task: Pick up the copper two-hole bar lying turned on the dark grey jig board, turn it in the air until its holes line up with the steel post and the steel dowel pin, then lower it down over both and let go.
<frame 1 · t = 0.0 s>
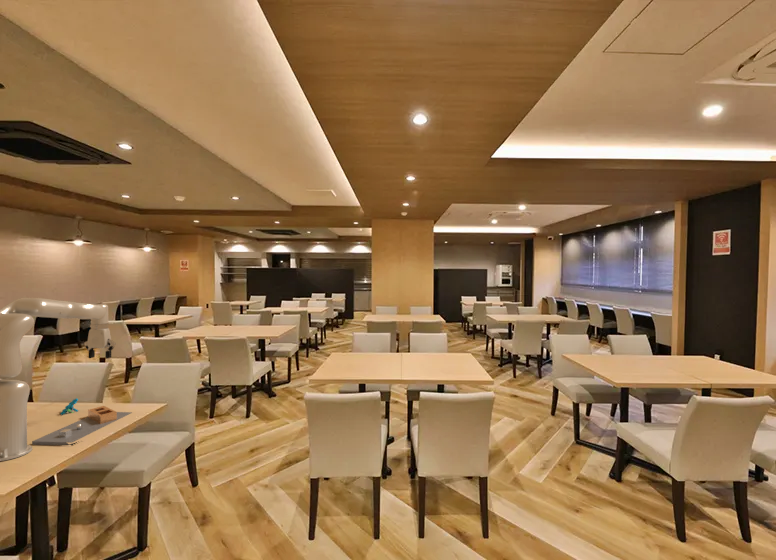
hand: (100, 357, 200), 31 cm above the table, tool pointing down, fingers open, 9 cm apart
jig board: (87, 428, 182), on the table
blue branched piece: (69, 414, 202), on the table
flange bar: (102, 418, 191), point 1 cm above the table, touching jig board
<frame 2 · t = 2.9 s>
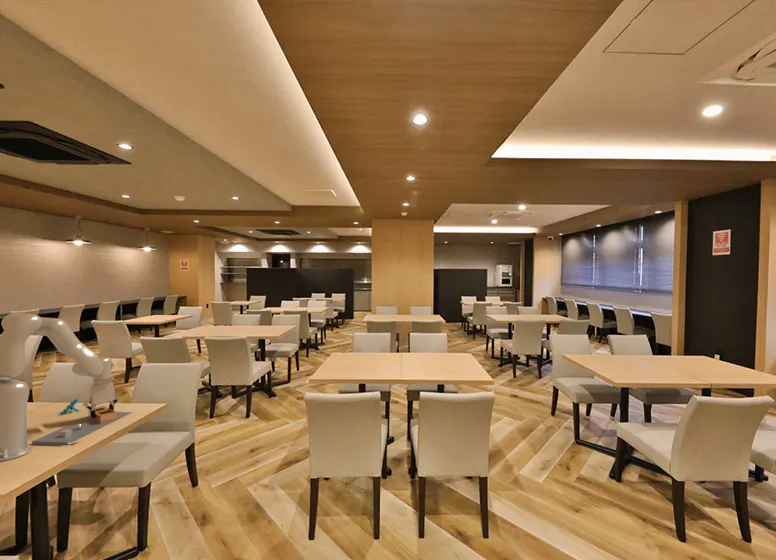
hand: (102, 414, 191), 3 cm above the table, tool pointing down, fingers closed on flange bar, 7 cm apart
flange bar: (102, 418, 191), point 1 cm above the table, touching gripper, jig board
everything else where it was.
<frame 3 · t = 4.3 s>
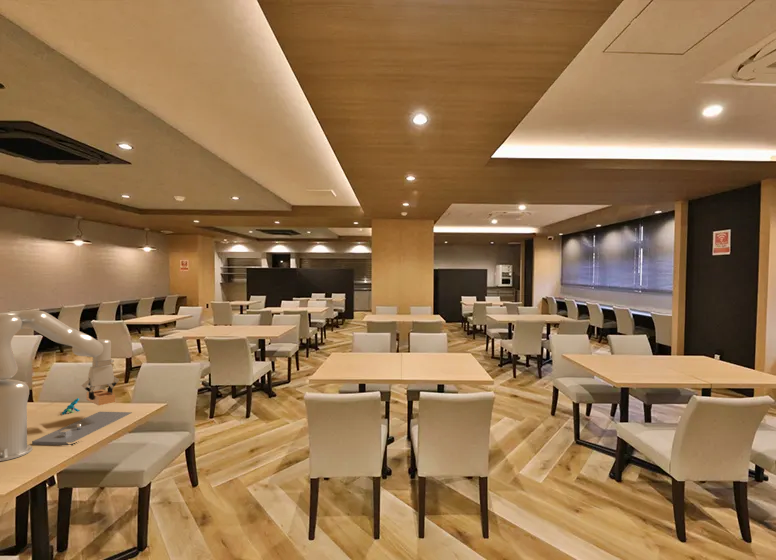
hand: (100, 397, 190), 13 cm above the table, tool pointing down, fingers closed on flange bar, 7 cm apart
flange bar: (100, 400, 190), point 11 cm above the table, touching gripper
everything else where it was.
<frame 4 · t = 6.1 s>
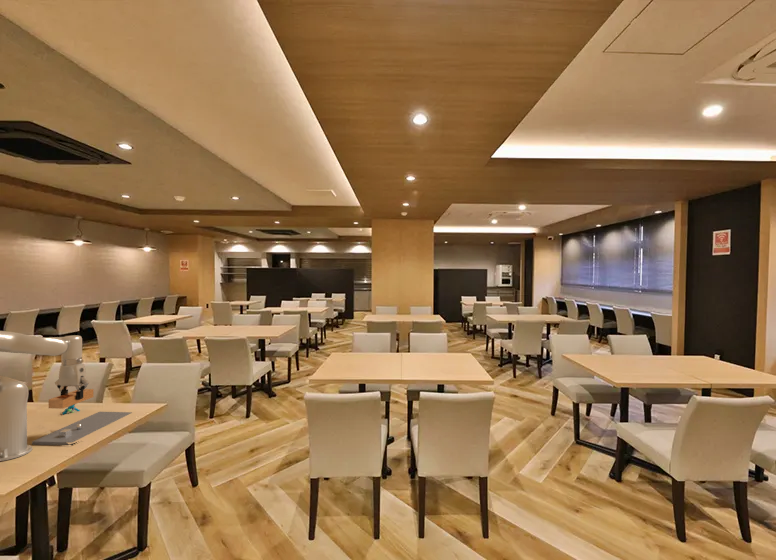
hand: (72, 398, 174), 18 cm above the table, tool pointing down, fingers closed on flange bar, 7 cm apart
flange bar: (72, 402, 174), point 16 cm above the table, touching gripper
everything else where it was.
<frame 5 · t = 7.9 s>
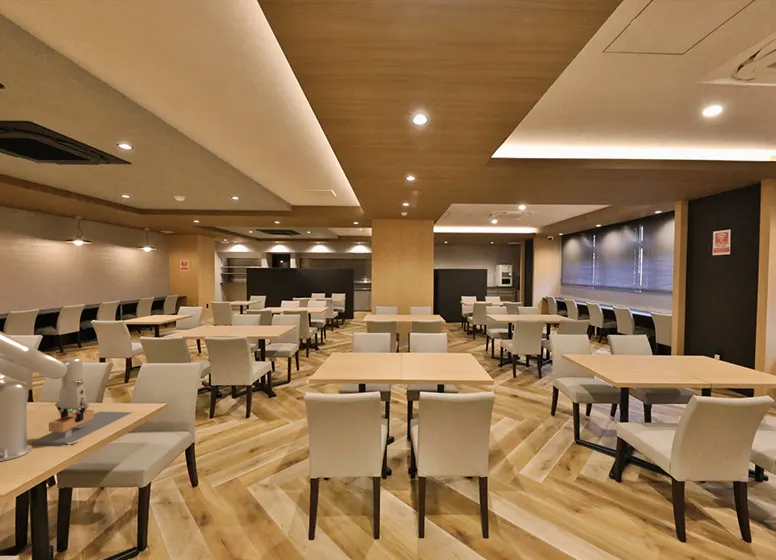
hand: (72, 420, 174), 7 cm above the table, tool pointing down, fingers closed on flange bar, 7 cm apart
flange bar: (72, 424, 174), point 5 cm above the table, touching gripper
everything else where it was.
when the fingers open (4 cm above the table, at t = 9.2 s): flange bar stays where it is, resting on jig board.
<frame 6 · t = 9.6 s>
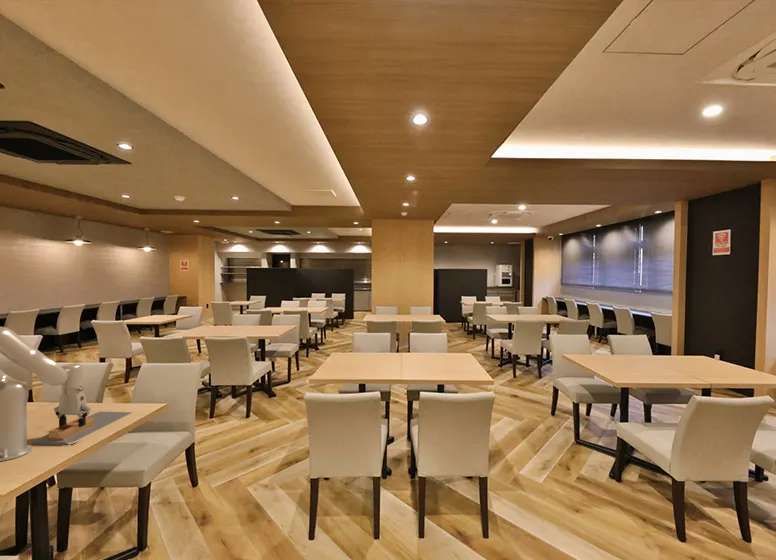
hand: (72, 425, 174), 5 cm above the table, tool pointing down, fingers open, 9 cm apart
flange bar: (72, 432, 174), point 1 cm above the table, touching jig board
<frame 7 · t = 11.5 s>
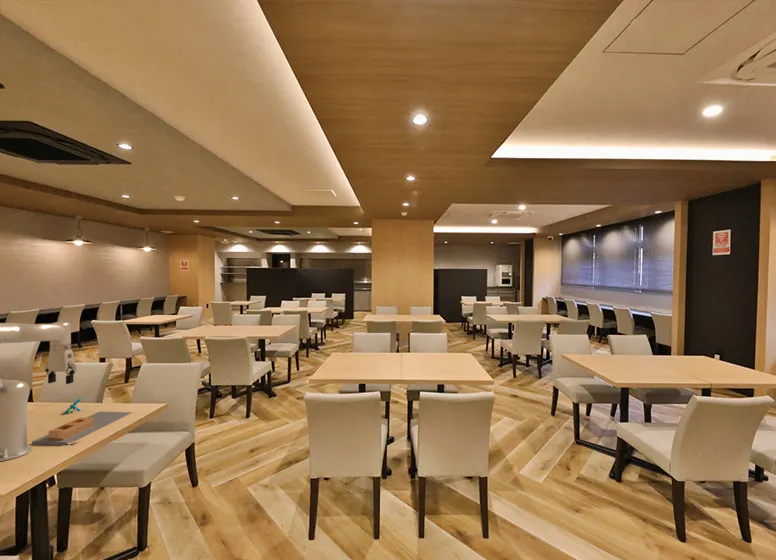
hand: (60, 382, 177), 24 cm above the table, tool pointing down, fingers open, 9 cm apart
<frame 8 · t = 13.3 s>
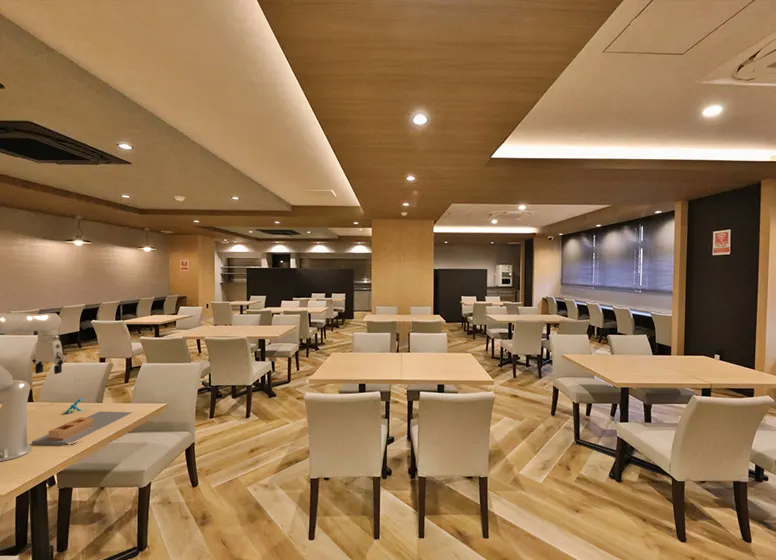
hand: (48, 373, 180), 28 cm above the table, tool pointing down, fingers open, 9 cm apart
at the end: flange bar 0.1 cm from the target spot on the jig board, point 1.5 cm above the jig board's base; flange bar tilted 0°; the gripper is holding nothing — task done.
